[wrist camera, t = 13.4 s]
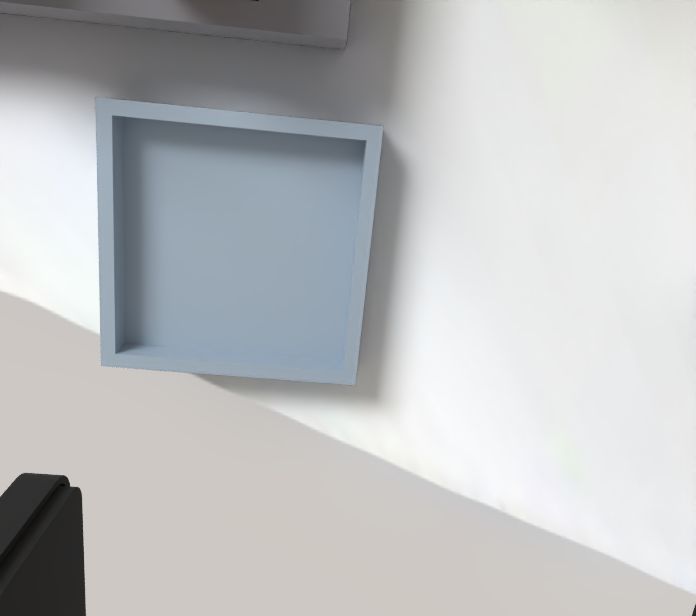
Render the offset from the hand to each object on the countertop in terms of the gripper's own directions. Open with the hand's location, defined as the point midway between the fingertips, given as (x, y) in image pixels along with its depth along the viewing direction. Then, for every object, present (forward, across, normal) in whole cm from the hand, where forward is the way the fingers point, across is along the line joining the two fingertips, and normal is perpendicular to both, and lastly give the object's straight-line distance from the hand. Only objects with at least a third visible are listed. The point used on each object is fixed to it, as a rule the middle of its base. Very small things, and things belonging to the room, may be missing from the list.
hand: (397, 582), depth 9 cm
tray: (+28, +6, +1) cm, 29 cm away
